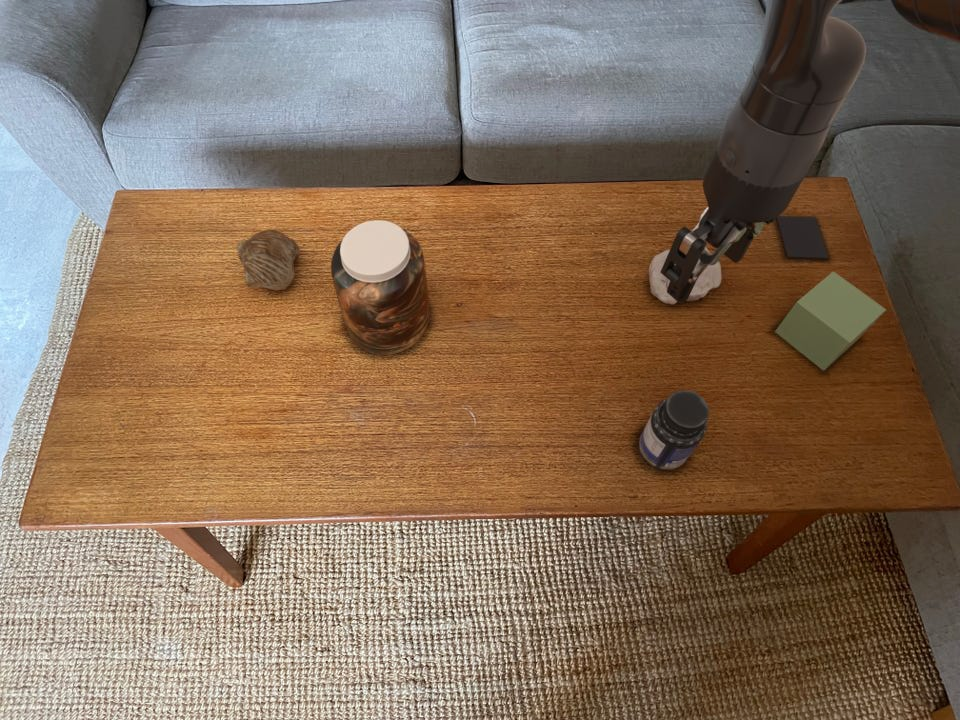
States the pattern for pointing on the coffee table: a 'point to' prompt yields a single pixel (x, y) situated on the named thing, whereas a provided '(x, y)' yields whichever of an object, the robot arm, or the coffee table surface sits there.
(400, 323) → the jar
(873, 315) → the green block
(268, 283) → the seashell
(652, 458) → the pill bottle
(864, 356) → the coffee table surface
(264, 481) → the coffee table surface
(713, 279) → the fossil
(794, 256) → the rubber mat
